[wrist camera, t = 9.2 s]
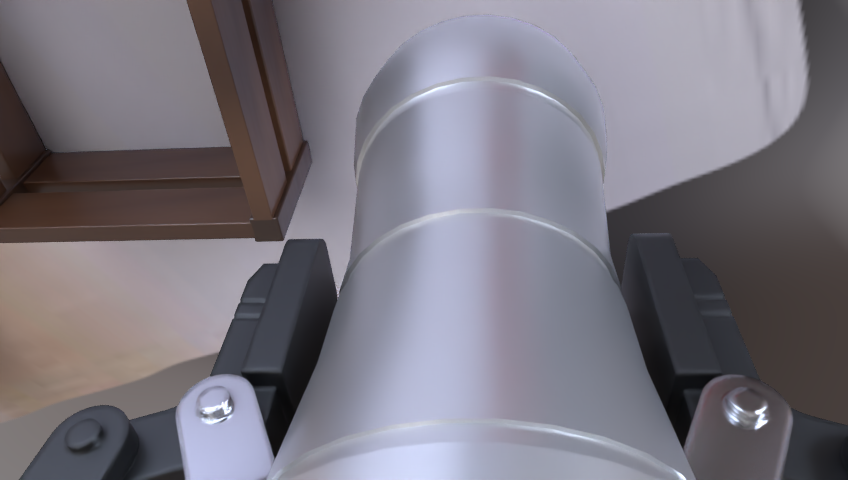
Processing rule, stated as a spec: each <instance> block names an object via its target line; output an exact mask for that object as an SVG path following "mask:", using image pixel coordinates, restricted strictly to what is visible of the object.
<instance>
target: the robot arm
mask: <svg viewBox="0 0 848 480" xmlns="http://www.w3.org/2000/svg"><path fill="white" fill-rule="evenodd" d="M621 294H622V296H623V298H624V300H625V303H626V305H627V308H628V311H629V314H630V317H631V320H632V323H633V327H634V330H635V333H636V336H637V339H638V342H639V346H640V349H641V352H642V355H643V358H644V361H645V365H646V368H647V371H648V373H649V375H650V377H651V380H652V382H653V384H654V386H655V388H656V391H657V393H658V395H659V397H660V400H661V402H662V404H663V406H664V409H665V411H666V413H667V415H668V417H669V420H670V422H671V424H672V426H673V429H674V431H675V433H676V435H677V438H678V440H679V442H680V444H681V446H682V449H683V452H684V454H685V456H686V458H687V461H688V463H689V465H690V467H691V470H692V472H693V474H694V476H695V478H696V480H848V426H847V425H844V424H840V423H836V422H832V421H828V420H824V419H820V418H817V417H813V416H810V415H807V414H804V413H801V412H799V411H797V410H794V409H792V408H790V406H789V405H788V403H787V402H786V400H785V399H784V398H783V397H782V396H781V394H780V393H778V392H777V391H776V390H775V389H774V388H772V387H771V386H769V385H768V384H766V383H764V382H762V381H761V380H760V378H759V376H758V374H757V372H756V369H755V367H754V364H753V362H752V360H751V357H750V355H749V353H748V350H747V348H746V345H745V343H744V341H743V338H742V336H741V334H740V331H739V329H738V326H737V324H736V322H735V319H734V317H733V316H732V315H731V313H732V312H731V310H730V307H729V305H728V303H727V300H725V298H724V296H725V295H724V293H723V291H722V288H721V286H720V284H719V281H718V279H717V276H716V275H715V274H714V273H713V272H712V271H711V270H710V269H709V268H708V267H707V266H706V265H705V264H704V263H702V262H701V261H700V260H699V259H698V258H680V256H679V254H678V251H677V248H676V246H675V243H674V240H673V238H672V236H671V234H670V233H654V234H653V233H650V234H631V235H630V238H629V242H628V247H627V254H626V259H625V266H624V272H623V278H622V284H621ZM240 300H241V303H239V304H238V307H237V309H236V312H235V314H234V316H235V318H234V319H232V322H231V325H230V327H229V330H228V332H227V335H226V337H225V340H224V342H223V345H222V347H221V350H220V352H219V355H218V357H217V360H216V362H215V365H214V367H213V370H212V372H211V375H210V377H209V378H206V379H204V380H202V381H200V382H198V383H197V384H195V385H194V386H193V387H191V388H190V389H189V390H188V391H187V392H186V393H185V395H184V396H183V397H182V398H181V400H180V402H179V404H178V406H176V407H174V408H171V409H168V410H165V411H161V412H157V413H154V414H150V415H147V416H143V417H139V418H136V419H132V420H129V419H128V418H127V416H126V415H125V414H124V412H123V411H122V410H120V409H119V408H116V407H113V406H109V405H100V406H94V407H89V408H86V409H84V410H81V411H79V412H77V413H75V414H73V415H72V416H70V417H69V418H67V419H66V420H65V421H63V422H62V423H61V424H60V425H59V426H58V427H57V428H56V429H55V430H54V432H53V433H52V434H51V435H50V437H49V438H48V439H47V441H46V442H45V444H44V445H43V447H42V448H41V449H40V451H39V452H38V454H37V455H36V456H35V458H34V459H33V461H32V462H31V463H30V465H29V466H28V468H27V469H26V471H25V472H24V474H23V475H22V476H21V478H20V479H19V480H266V479H267V477H268V474H269V472H270V470H271V468H272V465H273V463H274V461H275V458H276V456H277V454H278V452H279V449H280V447H281V445H282V442H283V440H284V438H285V436H286V433H287V431H288V429H289V426H290V424H291V422H292V420H293V417H294V415H295V413H296V410H297V408H298V406H299V404H300V401H301V399H302V397H303V394H304V392H305V390H306V388H307V385H308V383H309V381H310V379H311V376H312V374H313V372H314V369H315V367H316V365H317V362H318V359H319V356H320V353H321V350H322V346H323V343H324V340H325V337H326V333H327V330H328V327H329V324H330V320H331V317H332V314H333V311H334V308H335V305H336V303H337V291H336V287H335V282H334V277H333V273H332V268H331V264H330V259H329V255H328V250H327V246H326V243H325V241H324V240H323V239H289V240H288V241H287V242H286V244H285V246H284V249H283V252H282V255H281V258H280V261H279V263H278V264H263V265H262V266H261V267H260V268H259V270H258V271H257V272H256V273H255V274H254V275H253V276H252V277H251V278H250V279H249V280H248V282H247V284H246V287H245V289H244V292H243V294H242V297H241V299H240Z"/></svg>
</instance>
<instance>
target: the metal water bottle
mask: <svg viewBox="0 0 848 480" xmlns="http://www.w3.org/2000/svg"><path fill="white" fill-rule="evenodd" d="M606 159H607V141H606V124H605V116H604V107H603V104H602V102H601V99H600V96H599V94H598V91H597V89H596V86H595V85H594V83H593V82H592V80H591V79H590V77H589V76H588V75H587V73H586V72H585V70H584V69H583V67H582V66H581V65H580V64H579V62H578V61H577V60H576V58H575V57H574V56H573V55H572V53H571V52H570V51H569V50H568V49H567V48H566V47H565V46H564V45H563V44H562V43H560V42H559V41H558V40H557V39H556V38H555V37H554V36H552V35H551V34H549V33H547V32H545V31H544V30H542V29H540V28H538V27H537V26H535V25H533V24H530V23H527V22H524V21H521V20H518V19H515V18H511V17H503V16H495V15H473V16H462V17H458V18H454V19H450V20H446V21H442V22H439V23H437V24H435V25H433V26H431V27H429V28H427V29H424V30H422V31H420V32H419V33H417V34H416V35H414V36H413V37H412V38H410V39H409V40H408V41H406V42H405V43H403V44H402V45H401V46H400V47H399V48H398V49H397V50H396V51H395V53H394V54H393V55H392V56H391V57H390V58H389V59H388V60H387V61H386V63H385V64H384V66H383V67H382V68H381V70H380V71H379V72H378V74H377V75H376V76H375V78H374V79H373V81H372V83H371V85H370V86H369V88H368V90H367V91H366V93H365V95H364V96H363V99H362V102H361V105H360V108H359V112H358V115H357V118H356V132H355V152H354V169H355V178H356V185H357V198H356V207H355V216H354V225H353V234H352V243H351V252H350V260H349V263H348V266H347V269H346V272H345V276H344V279H343V282H342V285H341V288H340V294H339V297H338V300H337V303H336V305H335V308H334V311H333V314H332V317H331V320H330V324H329V327H328V330H327V333H326V337H325V340H324V343H323V346H322V350H321V353H320V356H319V359H318V362H317V365H316V367H315V369H314V372H313V374H312V376H311V379H310V381H309V383H308V385H307V388H306V390H305V392H304V394H303V397H302V399H301V401H300V404H299V406H298V408H297V410H296V413H295V415H294V417H293V420H292V422H291V424H290V426H289V429H288V431H287V433H286V436H285V438H284V440H283V442H282V445H281V447H280V449H279V452H278V454H277V456H276V458H275V461H274V463H273V465H272V468H271V470H270V472H269V474H268V477H267V479H266V480H696V478H695V476H694V474H693V472H692V470H691V467H690V465H689V463H688V461H687V458H686V456H685V454H684V452H683V449H682V446H681V444H680V442H679V440H678V438H677V435H676V433H675V431H674V429H673V426H672V424H671V422H670V420H669V417H668V415H667V413H666V411H665V409H664V406H663V404H662V402H661V400H660V397H659V395H658V393H657V391H656V388H655V386H654V384H653V382H652V380H651V377H650V375H649V373H648V371H647V368H646V365H645V361H644V358H643V355H642V352H641V349H640V346H639V342H638V339H637V336H636V333H635V330H634V327H633V323H632V320H631V317H630V314H629V311H628V308H627V305H626V303H625V300H624V298H623V296H622V294H621V287H620V283H619V280H618V277H617V273H616V270H615V267H614V264H613V261H612V258H611V255H610V245H609V237H608V227H607V217H606V208H605V199H604V189H603V184H604V176H605V167H606Z"/></svg>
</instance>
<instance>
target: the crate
mask: <svg viewBox="0 0 848 480" xmlns="http://www.w3.org/2000/svg"><path fill="white" fill-rule="evenodd" d="M187 4H188V7H189V10H190V13H191V17H192V20H193V23H194V26H195V30H196V33H197V36H198V39H199V43H200V46H201V49H202V53H203V56H204V59H205V62H206V66H207V69H208V72H209V75H210V79H211V82H212V85H213V88H214V92H215V95H216V98H217V102H218V105H219V108H220V111H221V115H222V118H223V121H224V124H225V128H226V131H227V134H228V137H229V141H230V144H231V147H211V148H182V149H153V150H124V151H95V152H66V153H51V151H50V150H46V149H45V148H44V146H43V144H42V142H41V140H40V138H39V136H38V134H37V132H36V130H35V128H34V126H33V124H32V122H31V120H30V119H29V117H28V115H27V113H26V111H25V109H24V107H23V105H22V103H21V101H20V99H19V97H18V95H17V93H16V91H15V90H14V88H13V86H12V84H11V82H10V80H9V78H8V76H7V74H6V72H5V70H4V68H3V66H2V64H1V62H0V243H29V242H78V241H128V240H177V239H226V238H255V241H257V242H261V241H283V240H284V238H285V235H286V233H287V230H288V227H289V224H290V221H291V219H292V216H293V213H294V210H295V208H296V205H297V202H298V199H299V197H300V194H301V191H302V188H303V185H304V183H305V180H306V177H307V174H308V172H309V169H310V166H311V163H312V158H311V154H310V149H309V145H308V141H303V137H302V133H301V128H300V124H299V119H298V115H297V110H296V106H295V101H294V97H293V93H292V88H291V84H290V79H289V75H288V70H287V66H286V61H285V57H284V52H283V48H282V43H281V39H280V34H279V30H278V25H277V21H276V16H275V12H274V7H273V3H272V0H187Z"/></svg>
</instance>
